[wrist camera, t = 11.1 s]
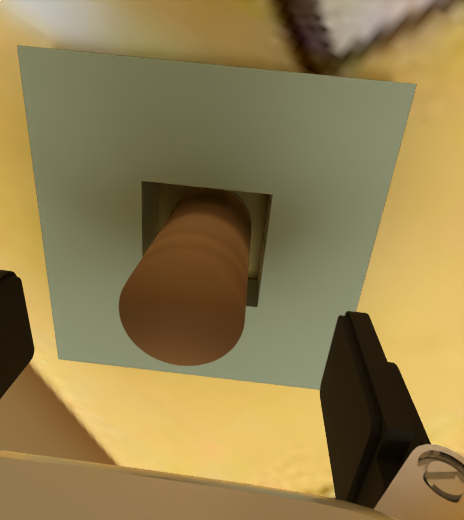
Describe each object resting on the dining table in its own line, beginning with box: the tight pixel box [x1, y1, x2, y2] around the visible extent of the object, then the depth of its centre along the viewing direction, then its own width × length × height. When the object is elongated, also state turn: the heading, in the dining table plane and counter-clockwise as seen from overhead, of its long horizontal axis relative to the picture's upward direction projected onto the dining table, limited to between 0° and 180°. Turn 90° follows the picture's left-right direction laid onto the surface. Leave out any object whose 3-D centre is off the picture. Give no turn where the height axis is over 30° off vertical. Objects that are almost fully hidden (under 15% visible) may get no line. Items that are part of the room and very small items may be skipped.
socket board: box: [17, 45, 417, 390], centre depth 20 cm, size 16×16×3 cm
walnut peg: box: [119, 188, 251, 366], centre depth 17 cm, size 4×4×9 cm
